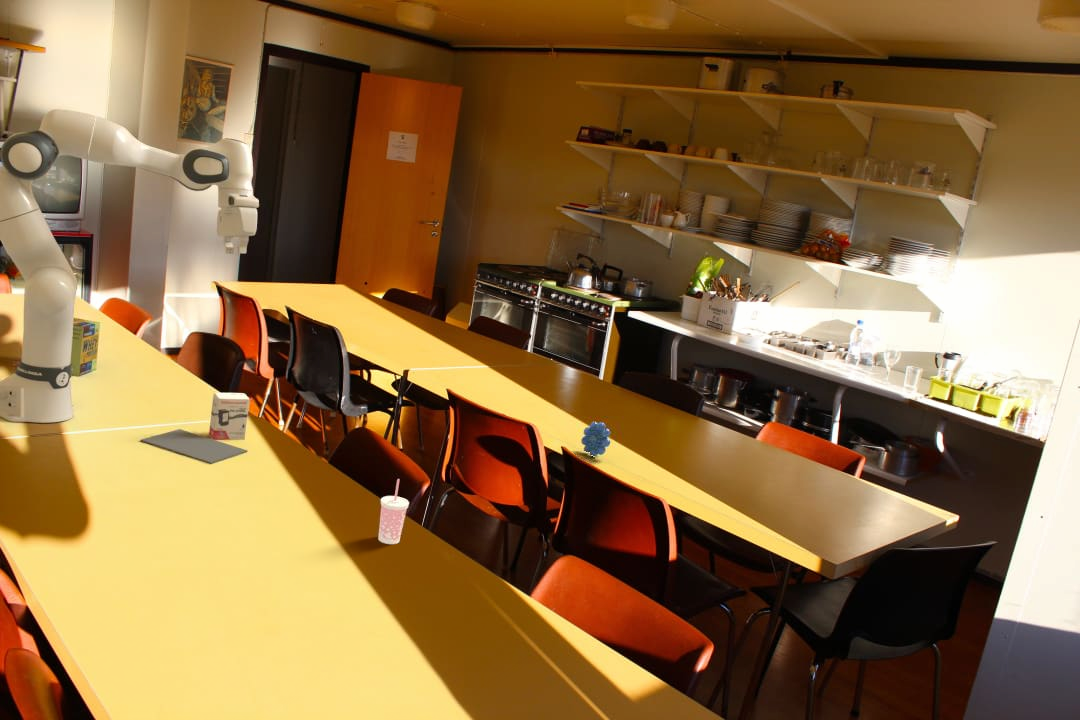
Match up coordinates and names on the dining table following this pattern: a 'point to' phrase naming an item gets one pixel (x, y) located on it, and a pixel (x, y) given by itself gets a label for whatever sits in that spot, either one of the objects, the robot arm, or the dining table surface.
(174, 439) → the mat
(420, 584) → the dining table surface
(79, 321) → the protein box
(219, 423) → the ink box
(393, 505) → the beverage cup
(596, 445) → the grapes
